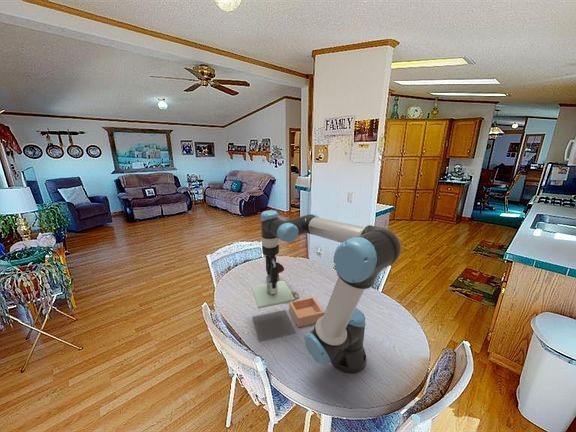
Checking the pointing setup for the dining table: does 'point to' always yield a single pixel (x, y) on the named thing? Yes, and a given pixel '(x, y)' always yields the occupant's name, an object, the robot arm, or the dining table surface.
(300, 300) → the dish
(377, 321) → the dining table surface
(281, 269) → the decorative mushroom
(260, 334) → the mat
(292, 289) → the ceramic mug
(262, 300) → the lid
